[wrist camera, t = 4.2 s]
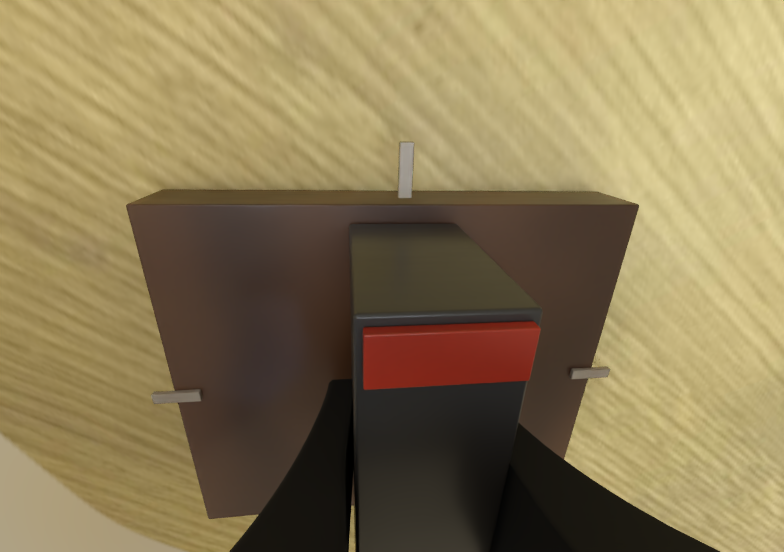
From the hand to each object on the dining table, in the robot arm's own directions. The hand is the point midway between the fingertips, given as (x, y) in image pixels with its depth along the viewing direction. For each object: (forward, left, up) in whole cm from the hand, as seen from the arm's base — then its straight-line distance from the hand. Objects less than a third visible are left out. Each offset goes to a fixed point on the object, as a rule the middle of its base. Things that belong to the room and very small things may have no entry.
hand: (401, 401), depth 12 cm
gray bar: (0, 0, -1) cm, 1 cm away
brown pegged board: (0, 0, -3) cm, 3 cm away
